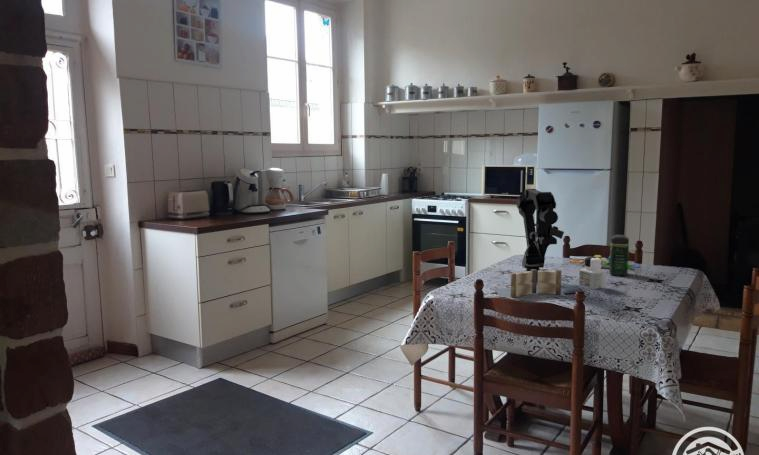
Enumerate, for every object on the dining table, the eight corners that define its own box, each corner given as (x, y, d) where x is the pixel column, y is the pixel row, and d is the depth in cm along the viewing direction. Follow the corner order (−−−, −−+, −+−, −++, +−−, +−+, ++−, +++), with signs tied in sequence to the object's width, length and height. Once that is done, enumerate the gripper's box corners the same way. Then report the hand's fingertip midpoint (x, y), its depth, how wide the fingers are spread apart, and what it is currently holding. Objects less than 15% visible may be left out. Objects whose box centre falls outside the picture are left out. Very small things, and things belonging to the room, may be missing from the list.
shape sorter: (564, 266, 295) (564, 257, 294) (574, 260, 311) (574, 251, 310) (635, 272, 277) (635, 263, 276) (642, 265, 292) (642, 256, 292)
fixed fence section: (561, 293, 235) (561, 269, 233) (561, 294, 232) (561, 271, 231) (537, 291, 237) (538, 268, 236) (537, 293, 235) (537, 270, 234)
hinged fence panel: (533, 291, 238) (533, 269, 237) (537, 292, 236) (538, 270, 235) (509, 296, 232) (509, 273, 230) (513, 297, 230) (513, 274, 228)
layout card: (493, 290, 246) (493, 288, 246) (553, 288, 247) (553, 286, 247) (501, 298, 231) (501, 297, 231) (565, 297, 232) (565, 295, 232)
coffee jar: (628, 276, 265) (629, 236, 263) (609, 275, 268) (610, 236, 266) (627, 272, 274) (628, 233, 272) (609, 271, 277) (610, 233, 275)
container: (578, 286, 249) (579, 256, 247) (592, 284, 252) (593, 255, 250) (591, 290, 242) (592, 259, 240) (606, 288, 245) (607, 258, 243)
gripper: (569, 223, 235) (569, 261, 237) (554, 218, 254) (554, 253, 256) (542, 224, 235) (542, 262, 237) (529, 219, 253) (529, 254, 256)
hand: (542, 257), depth 246 cm, fingers closed
